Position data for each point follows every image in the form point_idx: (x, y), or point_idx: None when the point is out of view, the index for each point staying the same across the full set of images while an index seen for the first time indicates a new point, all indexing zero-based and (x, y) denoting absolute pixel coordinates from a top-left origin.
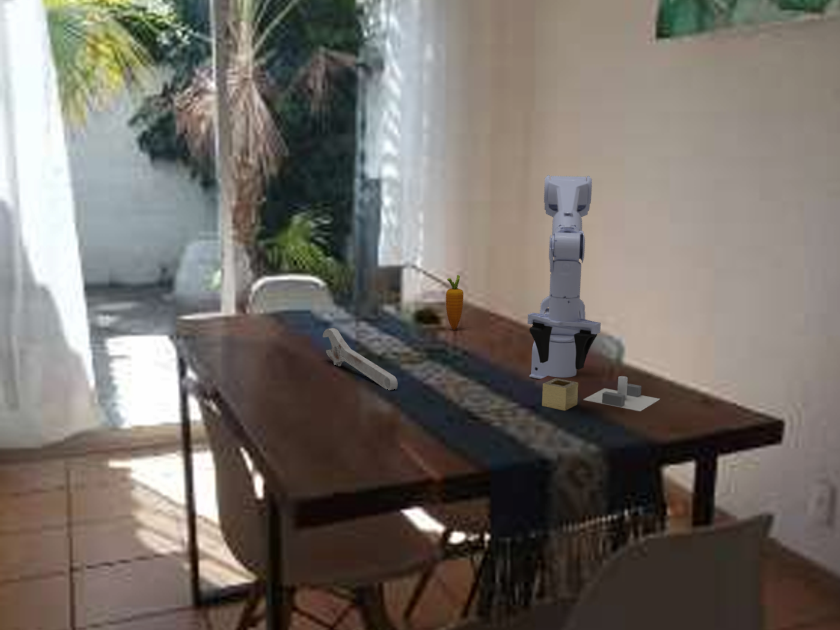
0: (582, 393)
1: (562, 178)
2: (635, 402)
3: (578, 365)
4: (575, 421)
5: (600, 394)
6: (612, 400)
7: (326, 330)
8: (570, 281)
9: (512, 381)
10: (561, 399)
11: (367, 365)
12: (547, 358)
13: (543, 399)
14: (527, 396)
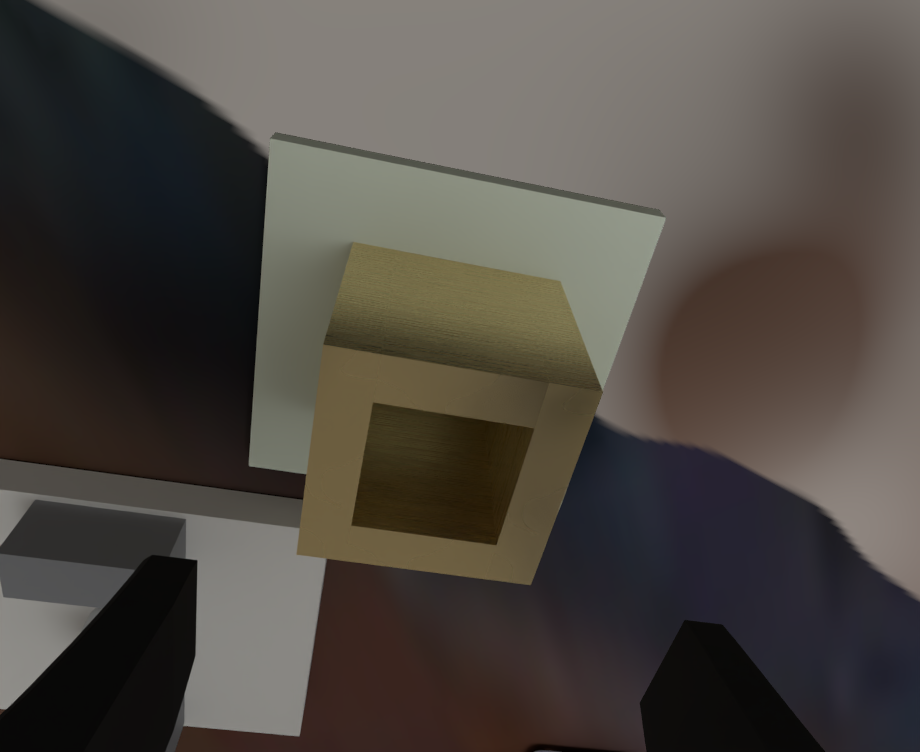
0: (415, 673)
1: None
2: (13, 605)
3: (120, 592)
4: (235, 153)
5: (273, 649)
6: (92, 533)
7: None
8: None
9: (834, 697)
10: (383, 294)
11: None
12: (653, 727)
13: (561, 312)
14: (715, 520)
